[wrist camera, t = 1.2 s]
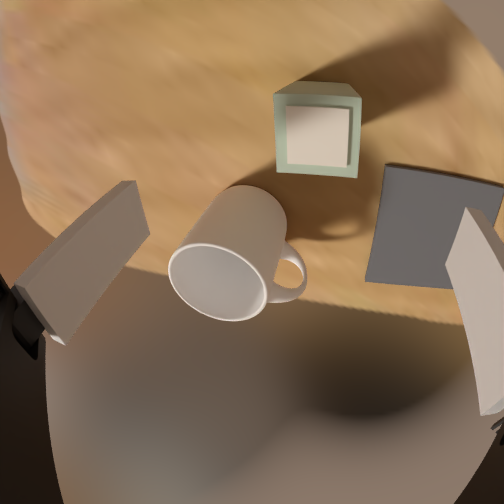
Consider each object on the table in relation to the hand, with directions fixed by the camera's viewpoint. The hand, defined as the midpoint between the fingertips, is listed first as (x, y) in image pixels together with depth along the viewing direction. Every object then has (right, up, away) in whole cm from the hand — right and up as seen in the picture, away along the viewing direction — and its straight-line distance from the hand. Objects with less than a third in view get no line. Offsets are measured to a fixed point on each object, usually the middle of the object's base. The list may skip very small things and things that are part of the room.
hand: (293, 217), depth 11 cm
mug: (0, +2, +21) cm, 21 cm away
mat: (+18, +1, +16) cm, 24 cm away
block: (+5, +11, +12) cm, 17 cm away
